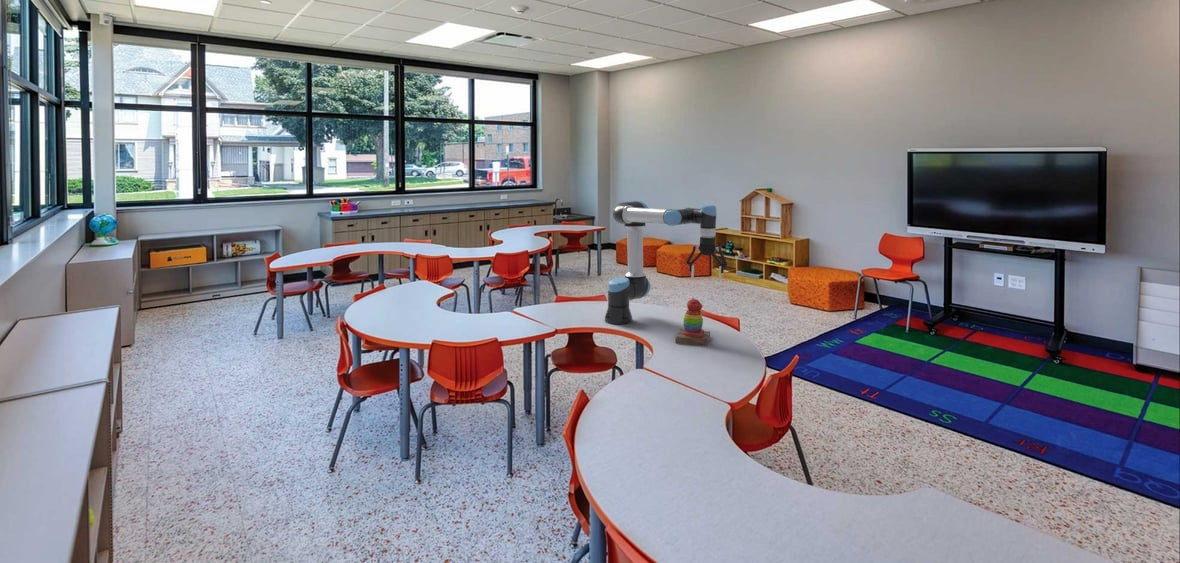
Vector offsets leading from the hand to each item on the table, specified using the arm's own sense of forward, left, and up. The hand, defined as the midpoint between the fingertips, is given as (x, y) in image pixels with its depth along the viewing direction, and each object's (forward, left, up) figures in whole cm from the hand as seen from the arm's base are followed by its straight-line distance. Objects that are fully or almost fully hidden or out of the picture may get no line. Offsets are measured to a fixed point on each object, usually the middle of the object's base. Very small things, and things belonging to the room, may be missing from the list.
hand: (706, 278), depth 305 cm
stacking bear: (+13, -4, -26) cm, 29 cm away
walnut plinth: (+12, -4, -29) cm, 32 cm away
